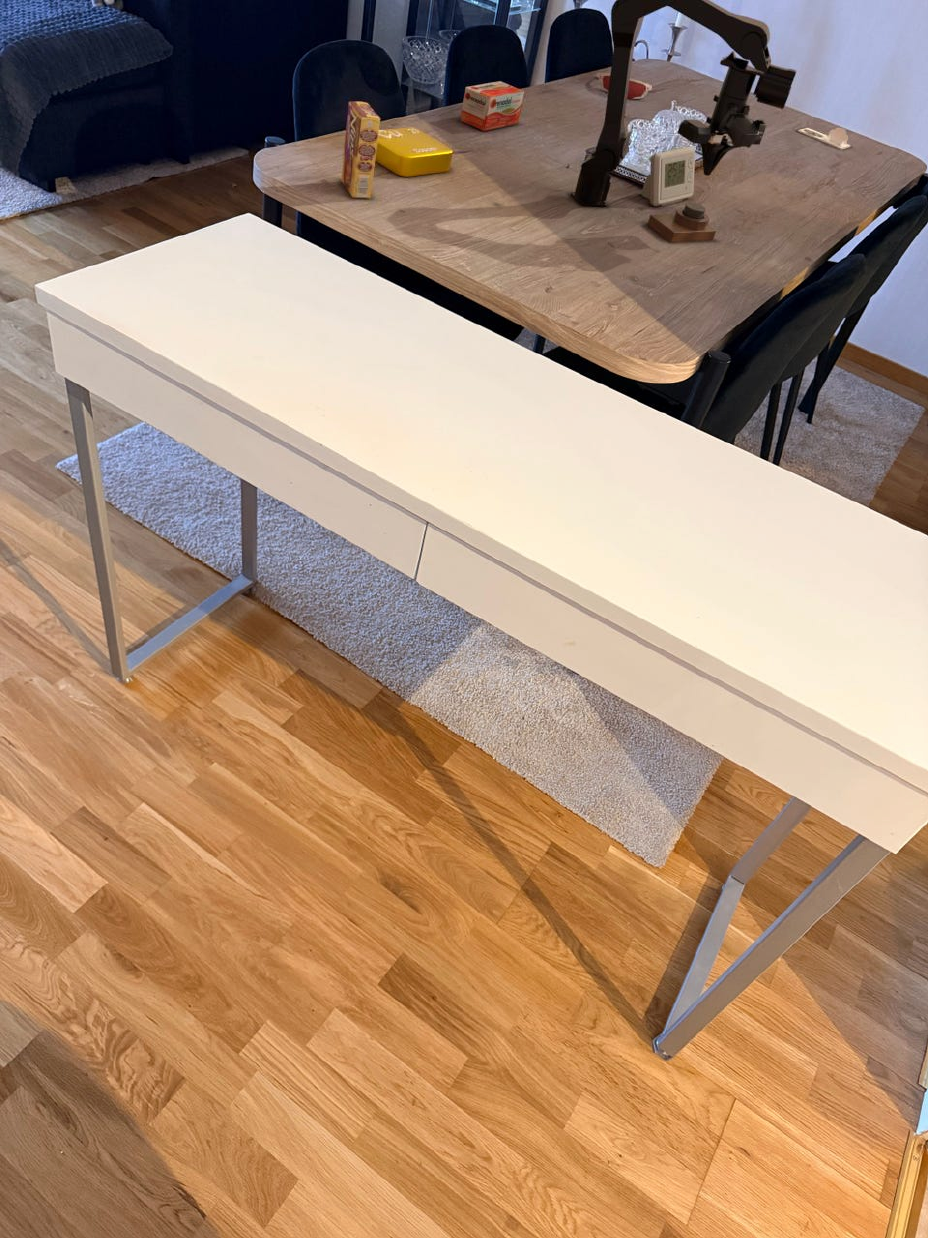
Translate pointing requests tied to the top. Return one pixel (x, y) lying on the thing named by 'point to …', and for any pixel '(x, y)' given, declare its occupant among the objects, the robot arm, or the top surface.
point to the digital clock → (670, 176)
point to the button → (694, 210)
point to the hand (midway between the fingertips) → (706, 174)
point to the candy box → (360, 149)
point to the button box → (682, 227)
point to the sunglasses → (635, 87)
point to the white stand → (829, 137)
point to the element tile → (411, 152)
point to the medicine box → (492, 105)
